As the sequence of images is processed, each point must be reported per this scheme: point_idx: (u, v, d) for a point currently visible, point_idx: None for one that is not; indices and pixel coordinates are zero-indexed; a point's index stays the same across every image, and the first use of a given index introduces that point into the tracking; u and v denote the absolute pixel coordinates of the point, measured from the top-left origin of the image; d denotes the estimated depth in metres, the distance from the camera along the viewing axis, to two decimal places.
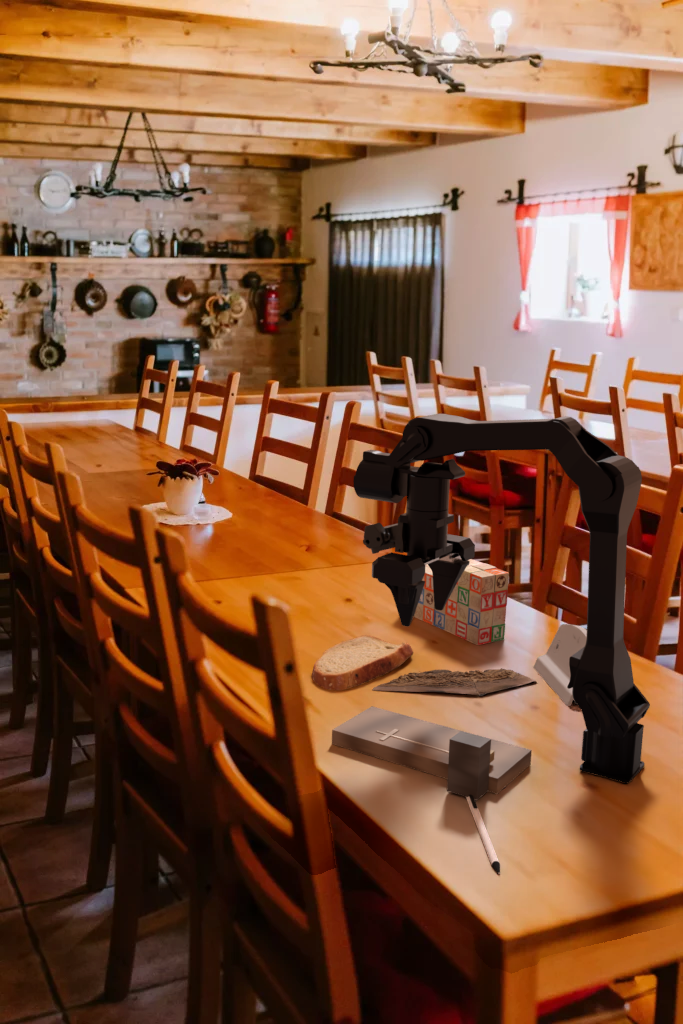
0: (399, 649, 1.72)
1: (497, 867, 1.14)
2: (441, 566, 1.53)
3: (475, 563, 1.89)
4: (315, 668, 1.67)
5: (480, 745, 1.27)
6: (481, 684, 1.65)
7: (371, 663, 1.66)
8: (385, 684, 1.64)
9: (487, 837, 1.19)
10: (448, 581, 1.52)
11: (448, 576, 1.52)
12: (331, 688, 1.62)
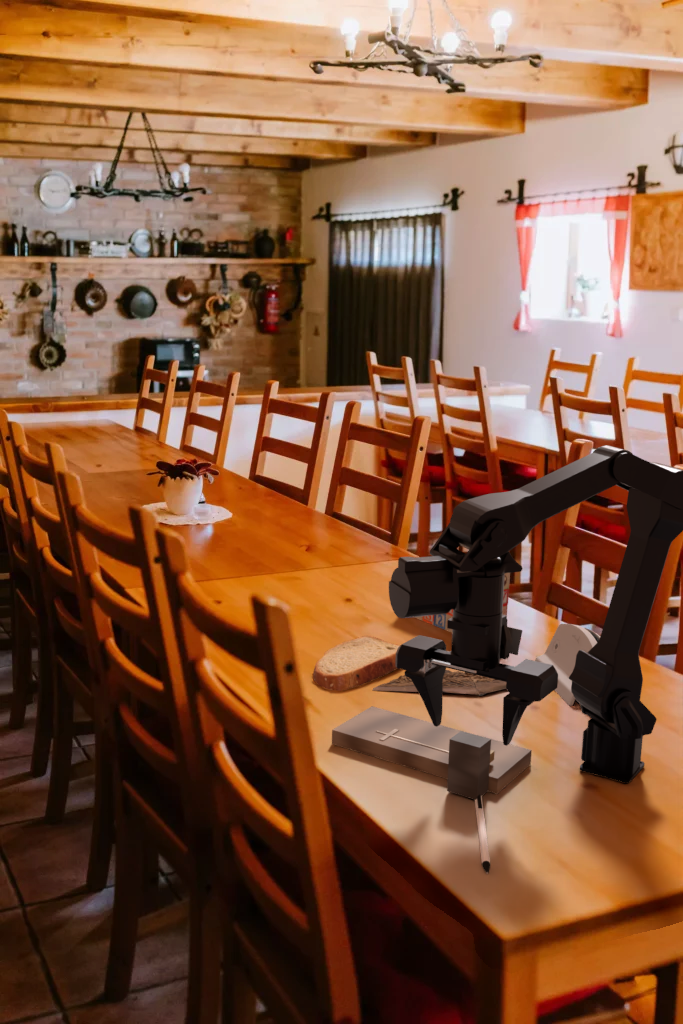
0: None
1: (486, 867, 1.14)
2: None
3: None
4: (316, 668, 1.67)
5: (480, 745, 1.27)
6: (481, 684, 1.65)
7: (372, 663, 1.66)
8: (385, 684, 1.64)
9: (484, 837, 1.19)
10: None
11: None
12: (332, 688, 1.62)
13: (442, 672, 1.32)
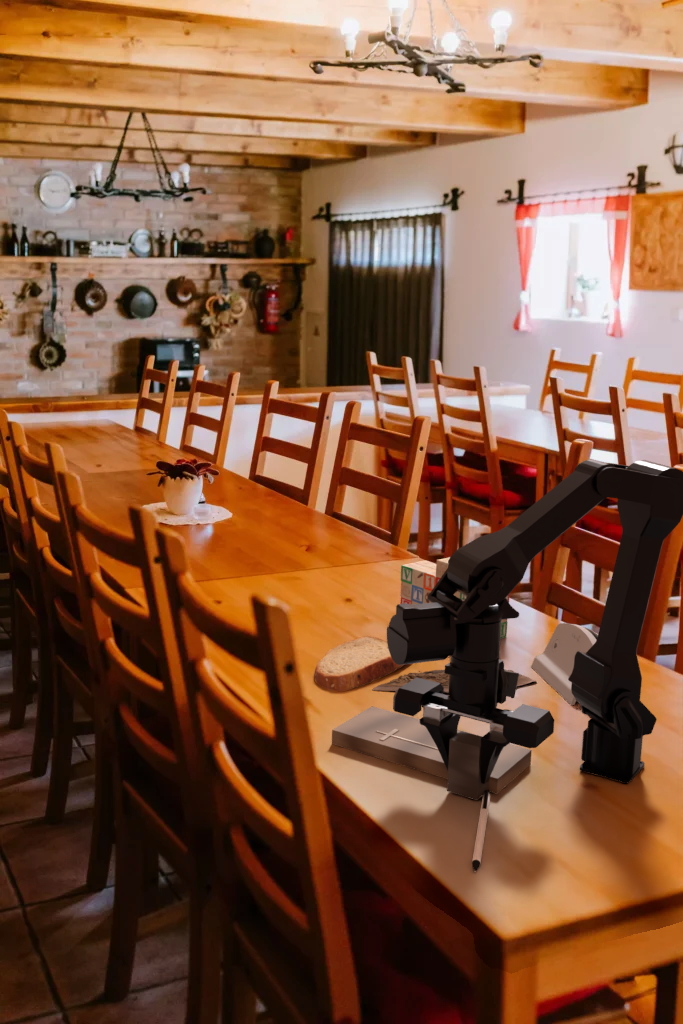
0: None
1: (475, 866, 1.14)
2: None
3: None
4: (317, 669, 1.66)
5: (480, 745, 1.27)
6: None
7: (373, 664, 1.66)
8: (385, 684, 1.64)
9: (480, 837, 1.19)
10: None
11: None
12: (333, 689, 1.62)
13: (457, 719, 1.32)
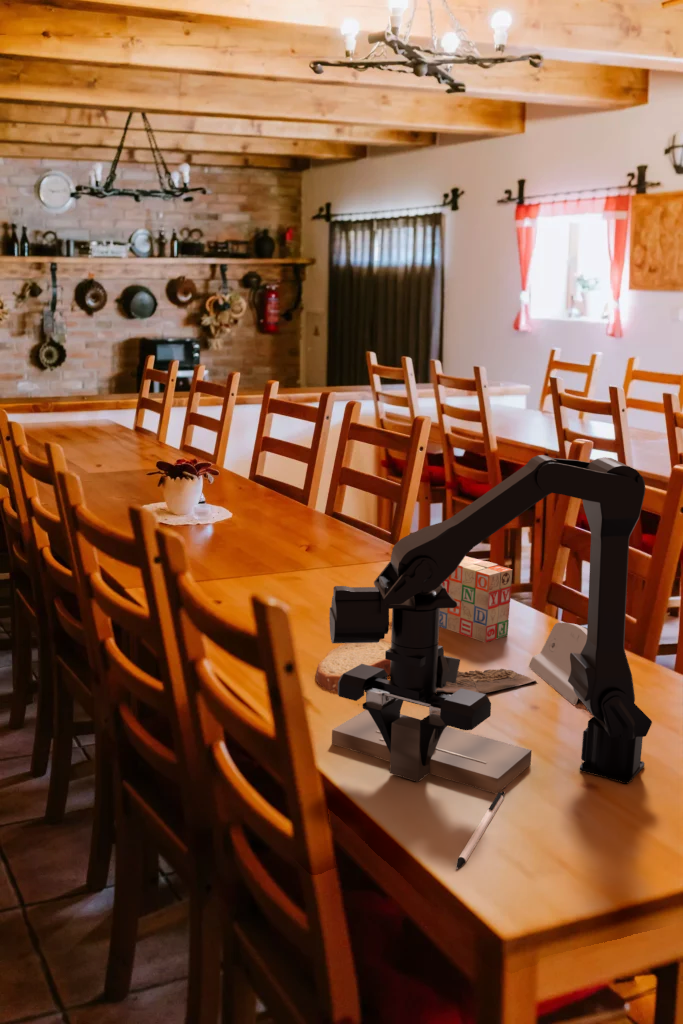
0: None
1: (459, 863, 1.14)
2: None
3: (476, 561, 1.91)
4: (319, 669, 1.66)
5: None
6: (481, 684, 1.65)
7: (375, 664, 1.66)
8: None
9: (475, 836, 1.19)
10: None
11: None
12: (335, 689, 1.62)
13: (399, 704, 1.36)
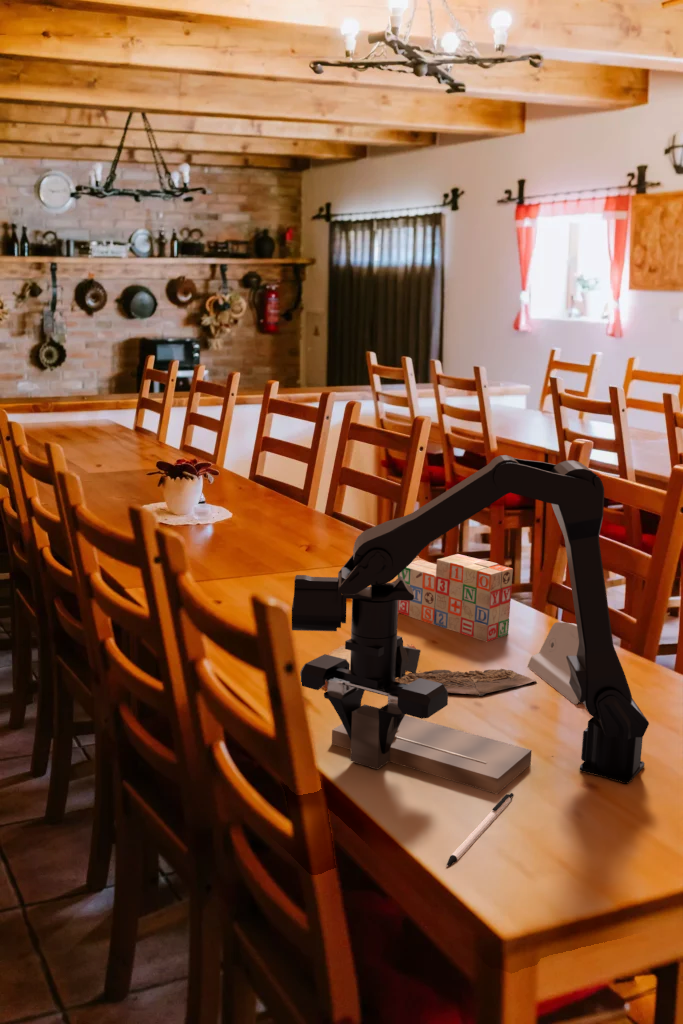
0: None
1: (449, 860, 1.15)
2: None
3: (475, 560, 1.91)
4: None
5: None
6: (481, 684, 1.65)
7: None
8: None
9: (472, 835, 1.20)
10: None
11: None
12: None
13: (361, 693, 1.39)
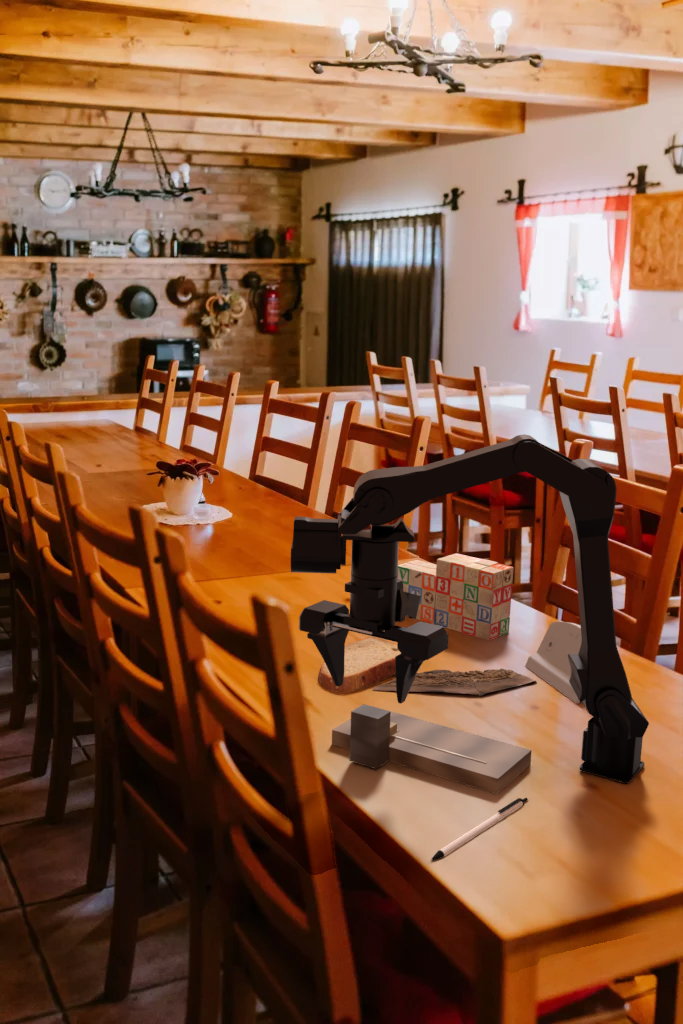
0: None
1: (435, 855, 1.16)
2: None
3: (475, 559, 1.92)
4: (322, 670, 1.66)
5: (378, 717, 1.35)
6: (481, 684, 1.65)
7: (378, 665, 1.66)
8: (385, 684, 1.64)
9: (468, 834, 1.20)
10: None
11: None
12: (338, 690, 1.61)
13: (344, 635, 1.39)
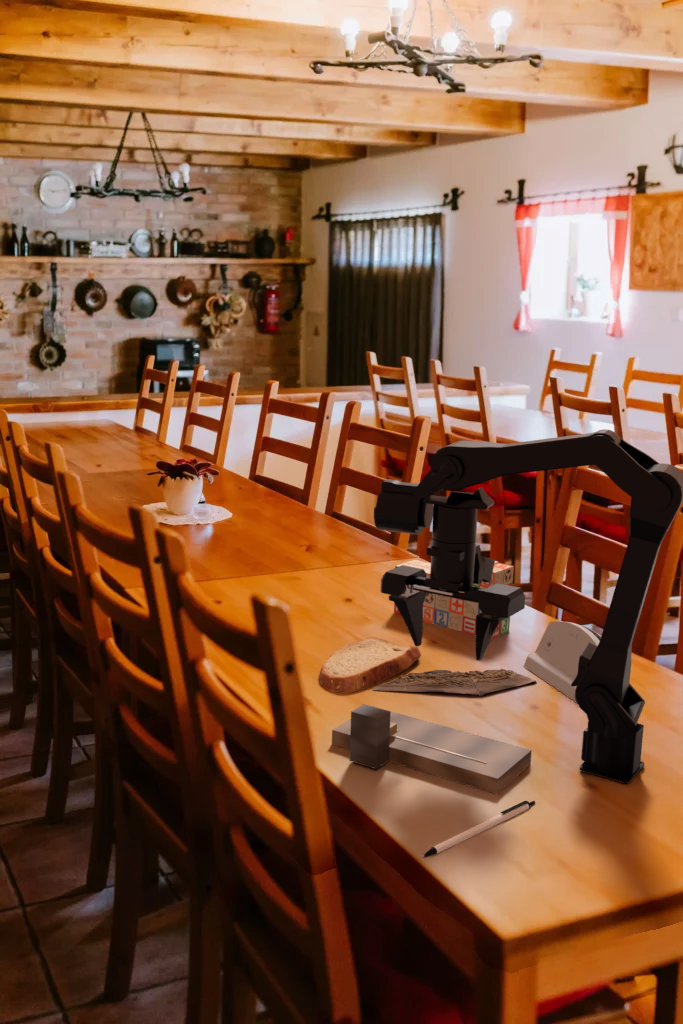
0: (407, 651, 1.71)
1: (428, 851, 1.16)
2: None
3: None
4: (322, 670, 1.66)
5: (378, 717, 1.35)
6: (481, 684, 1.65)
7: (379, 665, 1.65)
8: (385, 684, 1.64)
9: (465, 833, 1.20)
10: None
11: None
12: (338, 691, 1.61)
13: (422, 598, 1.47)
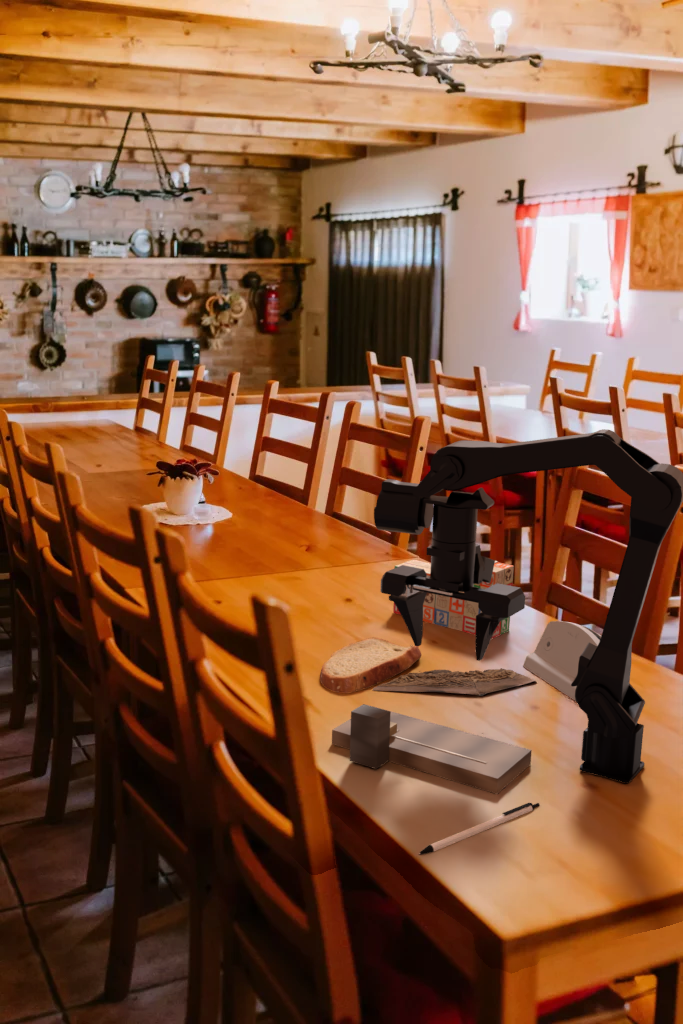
0: (407, 651, 1.71)
1: (424, 849, 1.17)
2: None
3: None
4: (323, 671, 1.66)
5: (378, 717, 1.35)
6: (481, 684, 1.65)
7: (379, 666, 1.65)
8: (385, 684, 1.64)
9: (464, 832, 1.20)
10: None
11: None
12: (339, 691, 1.61)
13: (422, 598, 1.47)
